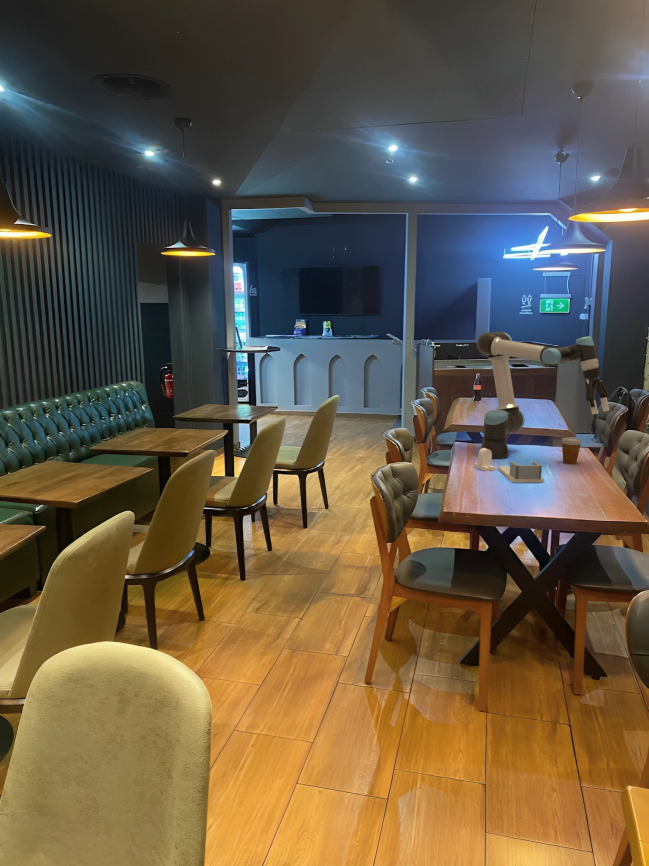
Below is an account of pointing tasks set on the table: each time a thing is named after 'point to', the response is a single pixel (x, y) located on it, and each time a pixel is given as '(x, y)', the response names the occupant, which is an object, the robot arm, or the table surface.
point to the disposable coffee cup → (570, 449)
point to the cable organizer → (485, 460)
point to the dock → (522, 472)
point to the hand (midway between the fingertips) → (600, 412)
